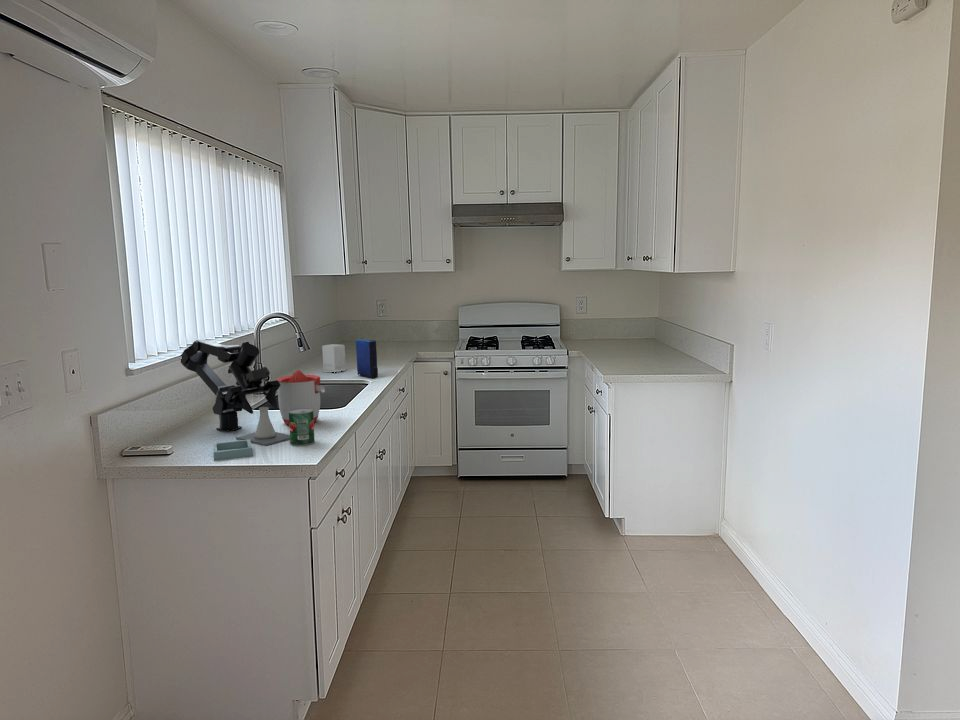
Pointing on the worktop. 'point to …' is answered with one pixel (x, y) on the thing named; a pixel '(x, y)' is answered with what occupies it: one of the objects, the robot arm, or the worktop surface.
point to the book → (366, 358)
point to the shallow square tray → (232, 449)
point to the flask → (264, 425)
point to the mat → (267, 441)
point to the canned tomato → (301, 426)
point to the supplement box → (333, 357)
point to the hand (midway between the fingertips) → (264, 410)
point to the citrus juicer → (299, 394)
